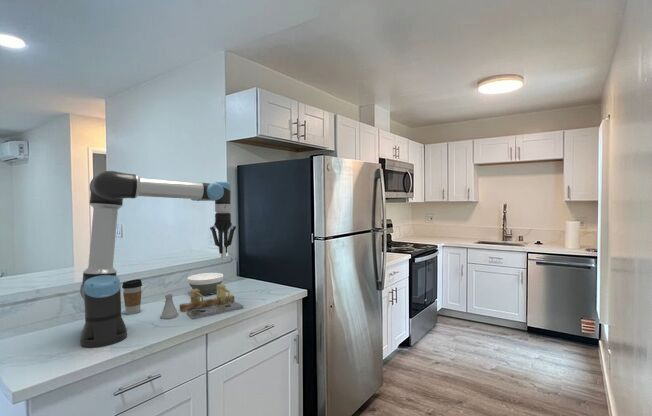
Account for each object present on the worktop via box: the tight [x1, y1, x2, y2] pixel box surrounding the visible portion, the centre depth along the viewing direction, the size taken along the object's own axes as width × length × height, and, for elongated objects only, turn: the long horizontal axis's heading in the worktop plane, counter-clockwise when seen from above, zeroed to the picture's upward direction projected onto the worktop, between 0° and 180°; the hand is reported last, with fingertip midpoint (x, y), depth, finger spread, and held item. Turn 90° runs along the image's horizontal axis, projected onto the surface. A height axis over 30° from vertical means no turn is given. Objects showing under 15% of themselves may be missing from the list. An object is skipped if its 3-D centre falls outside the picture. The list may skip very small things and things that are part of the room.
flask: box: [160, 293, 179, 320], centre depth 160 cm, size 7×7×10 cm
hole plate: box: [186, 301, 245, 320], centre depth 167 cm, size 24×9×1 cm, turn 126°
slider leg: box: [216, 283, 231, 305], centre depth 176 cm, size 3×14×9 cm, turn 36°
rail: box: [179, 288, 235, 313], centre depth 172 cm, size 26×14×9 cm, turn 126°
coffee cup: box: [121, 278, 143, 315], centre depth 168 cm, size 8×8×15 cm
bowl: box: [187, 272, 224, 296], centre depth 203 cm, size 20×20×10 cm
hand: (223, 259), depth 177 cm, fingers closed
